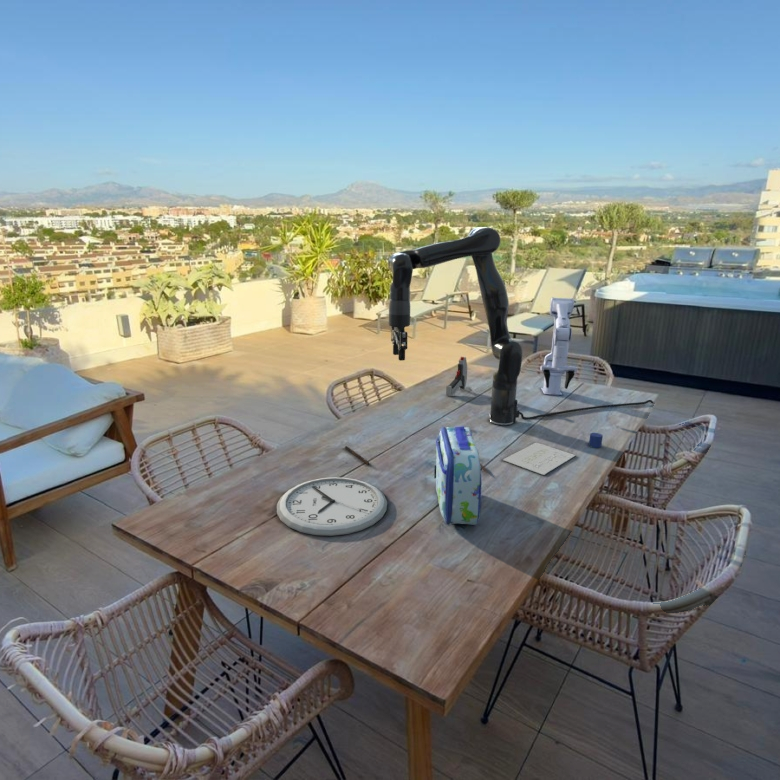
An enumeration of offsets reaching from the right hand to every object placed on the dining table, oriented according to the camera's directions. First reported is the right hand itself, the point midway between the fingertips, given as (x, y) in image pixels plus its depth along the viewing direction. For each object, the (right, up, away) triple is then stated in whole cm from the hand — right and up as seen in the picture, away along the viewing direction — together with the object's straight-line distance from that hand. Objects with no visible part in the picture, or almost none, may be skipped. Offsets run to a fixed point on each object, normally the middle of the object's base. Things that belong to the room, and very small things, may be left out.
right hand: (556, 387), depth 220 cm
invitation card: (-20, -24, -46) cm, 56 cm away
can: (+3, -21, -35) cm, 40 cm away
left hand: (-67, +11, -33) cm, 76 cm away
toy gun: (-40, -2, +22) cm, 45 cm away
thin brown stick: (-81, -23, -47) cm, 97 cm away
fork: (-42, -25, -51) cm, 71 cm away
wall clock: (-86, -33, -77) cm, 120 cm away
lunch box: (-52, -33, -77) cm, 99 cm away
